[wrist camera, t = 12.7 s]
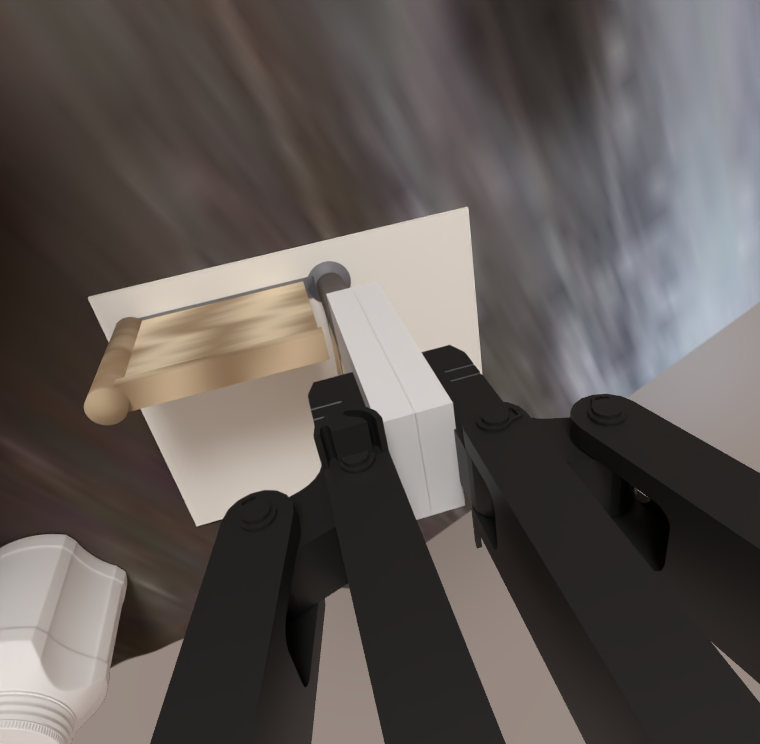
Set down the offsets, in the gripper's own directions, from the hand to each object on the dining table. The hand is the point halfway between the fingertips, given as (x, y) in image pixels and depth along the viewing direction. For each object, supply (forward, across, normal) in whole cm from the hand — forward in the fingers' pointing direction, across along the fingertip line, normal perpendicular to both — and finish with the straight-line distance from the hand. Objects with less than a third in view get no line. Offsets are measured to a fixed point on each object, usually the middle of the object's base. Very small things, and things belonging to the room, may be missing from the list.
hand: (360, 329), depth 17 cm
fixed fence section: (+24, -7, -8) cm, 27 cm away
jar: (+25, -28, -29) cm, 47 cm away
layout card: (+24, -2, -16) cm, 29 cm away
